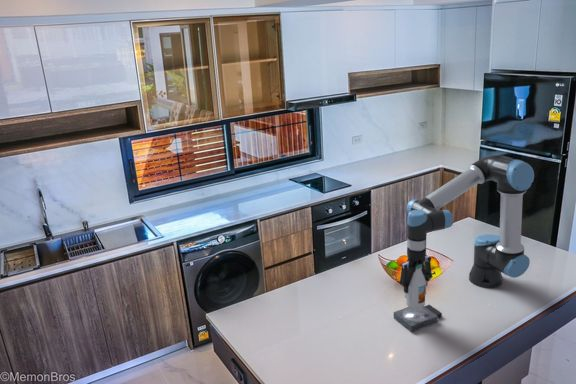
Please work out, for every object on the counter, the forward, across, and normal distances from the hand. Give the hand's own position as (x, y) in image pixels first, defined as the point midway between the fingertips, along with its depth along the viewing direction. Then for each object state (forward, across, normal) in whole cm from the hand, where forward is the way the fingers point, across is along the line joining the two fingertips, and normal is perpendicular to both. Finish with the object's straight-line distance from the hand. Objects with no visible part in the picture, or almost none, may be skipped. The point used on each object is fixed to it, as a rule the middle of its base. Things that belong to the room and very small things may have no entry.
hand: (415, 296), depth 203 cm
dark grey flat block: (+12, -2, 0) cm, 12 cm away
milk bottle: (+4, 0, 0) cm, 4 cm away
